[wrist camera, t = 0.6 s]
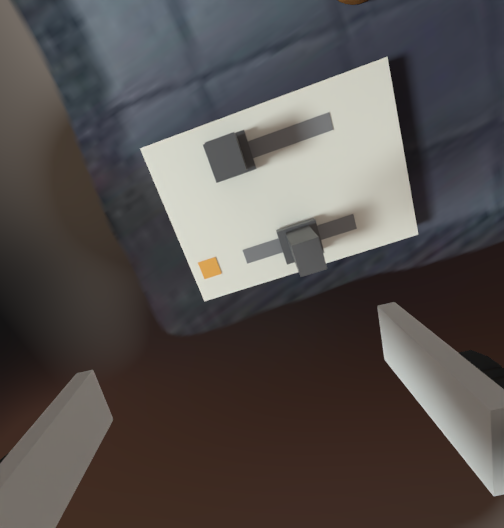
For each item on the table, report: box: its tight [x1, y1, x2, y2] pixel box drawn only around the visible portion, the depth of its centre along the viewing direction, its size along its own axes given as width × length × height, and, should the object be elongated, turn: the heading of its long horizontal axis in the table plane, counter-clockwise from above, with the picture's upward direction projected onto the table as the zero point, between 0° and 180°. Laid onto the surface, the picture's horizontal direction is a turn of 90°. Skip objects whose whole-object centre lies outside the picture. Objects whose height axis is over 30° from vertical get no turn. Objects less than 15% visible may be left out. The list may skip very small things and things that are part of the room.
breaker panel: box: [140, 57, 418, 301], centre depth 33 cm, size 24×17×3 cm
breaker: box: [203, 130, 256, 183], centre depth 28 cm, size 4×4×6 cm
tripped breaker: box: [276, 218, 327, 277], centre depth 30 cm, size 4×4×6 cm
